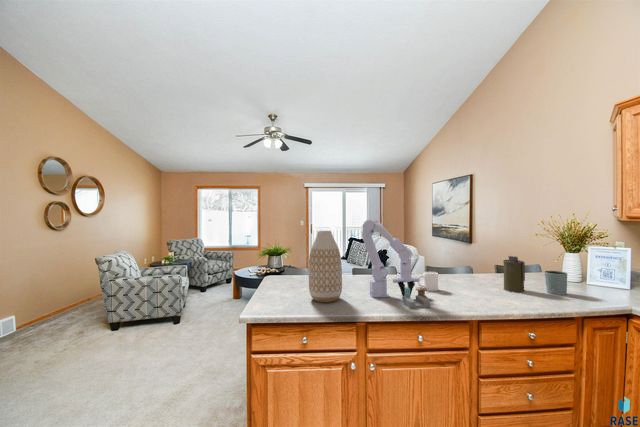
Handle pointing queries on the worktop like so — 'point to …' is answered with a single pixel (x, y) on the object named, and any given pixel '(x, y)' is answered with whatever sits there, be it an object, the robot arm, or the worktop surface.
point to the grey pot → (556, 282)
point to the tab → (407, 292)
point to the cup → (430, 281)
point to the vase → (325, 268)
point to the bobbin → (421, 291)
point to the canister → (514, 275)
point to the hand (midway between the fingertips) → (406, 295)
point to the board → (416, 302)
